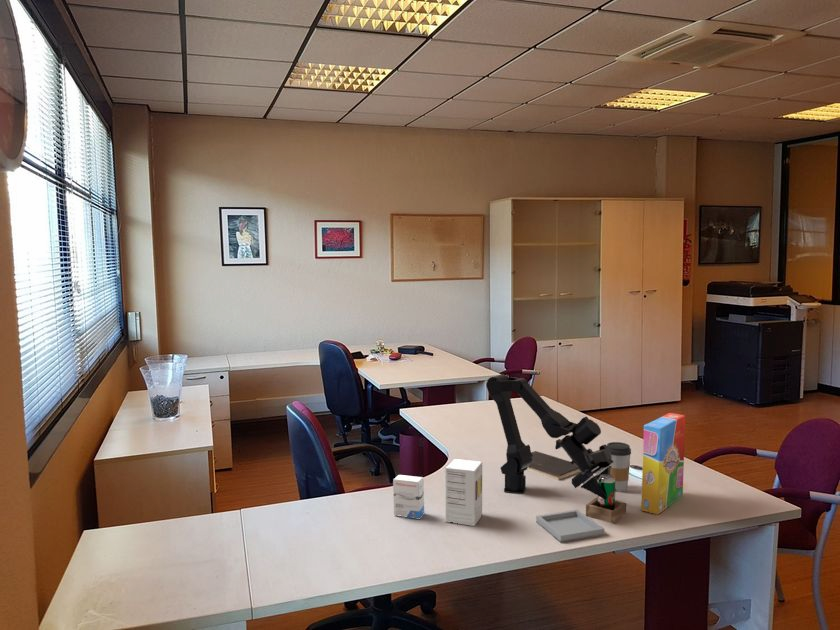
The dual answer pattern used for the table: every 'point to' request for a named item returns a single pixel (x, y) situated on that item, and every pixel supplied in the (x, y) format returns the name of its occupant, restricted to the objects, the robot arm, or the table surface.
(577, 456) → the robot arm
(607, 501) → the soda can
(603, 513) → the walnut cup-holder
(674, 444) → the game box
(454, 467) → the supplement box
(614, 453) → the coffee cup
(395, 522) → the table surface
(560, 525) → the grey tray
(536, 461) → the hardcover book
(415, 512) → the ink box
